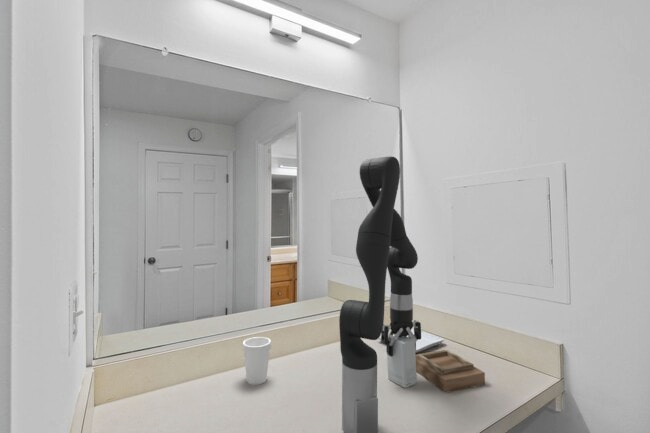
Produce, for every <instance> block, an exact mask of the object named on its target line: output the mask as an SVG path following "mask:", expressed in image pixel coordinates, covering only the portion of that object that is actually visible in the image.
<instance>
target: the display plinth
mask: <svg viewBox="0 0 650 433" xmlns="http://www.w3.org/2000/svg"><path fill="white" fill-rule="evenodd" d="M415 355H416V373H417V374H418V375H420V376H422V377H423V378H424V379H425V380H427V381H429V383H431V384H432V385H434V386H435V387H436V388H438V389H439V390H441V391H442V392H443V393H450V392H455V391H460V390H466V389H471V388H475V387H480V386H484V385H485V384H486V380H485V379H486V373H485V371H483V370H481V369H480V368H478V367H475V366H474V364H473V363H472V362H470V361H468V360H467V359H464V358H463V357H461V356H460V355H458V354H456V353H454V352H452V351H450V350H449V349H443V350H441V349H440V350H437V351H429V352H422V353H415Z"/></svg>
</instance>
